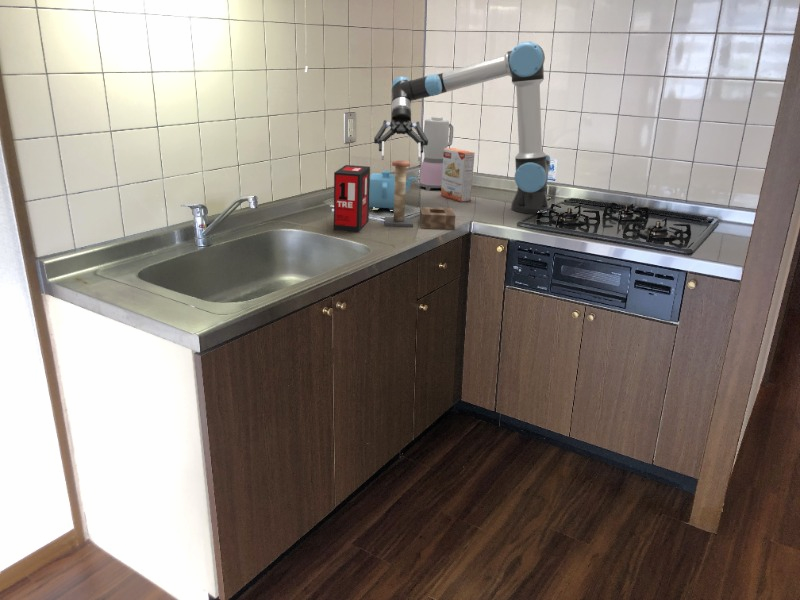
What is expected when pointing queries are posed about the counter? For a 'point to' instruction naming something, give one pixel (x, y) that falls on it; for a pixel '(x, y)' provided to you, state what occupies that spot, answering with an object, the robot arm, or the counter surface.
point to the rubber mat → (391, 222)
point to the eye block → (437, 218)
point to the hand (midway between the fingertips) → (401, 158)
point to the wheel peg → (399, 189)
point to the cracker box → (457, 174)
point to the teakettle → (384, 190)
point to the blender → (435, 151)
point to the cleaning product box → (351, 198)
